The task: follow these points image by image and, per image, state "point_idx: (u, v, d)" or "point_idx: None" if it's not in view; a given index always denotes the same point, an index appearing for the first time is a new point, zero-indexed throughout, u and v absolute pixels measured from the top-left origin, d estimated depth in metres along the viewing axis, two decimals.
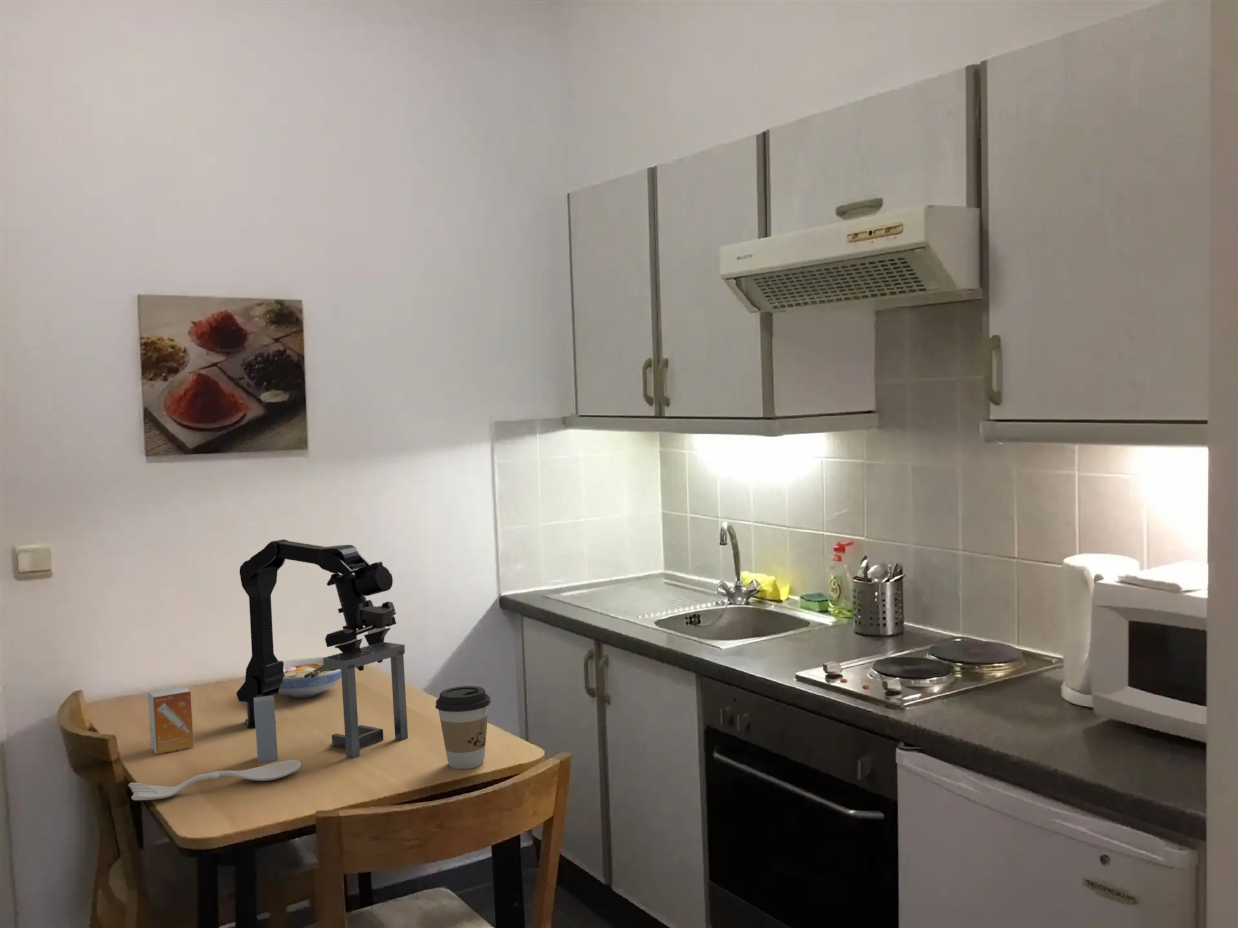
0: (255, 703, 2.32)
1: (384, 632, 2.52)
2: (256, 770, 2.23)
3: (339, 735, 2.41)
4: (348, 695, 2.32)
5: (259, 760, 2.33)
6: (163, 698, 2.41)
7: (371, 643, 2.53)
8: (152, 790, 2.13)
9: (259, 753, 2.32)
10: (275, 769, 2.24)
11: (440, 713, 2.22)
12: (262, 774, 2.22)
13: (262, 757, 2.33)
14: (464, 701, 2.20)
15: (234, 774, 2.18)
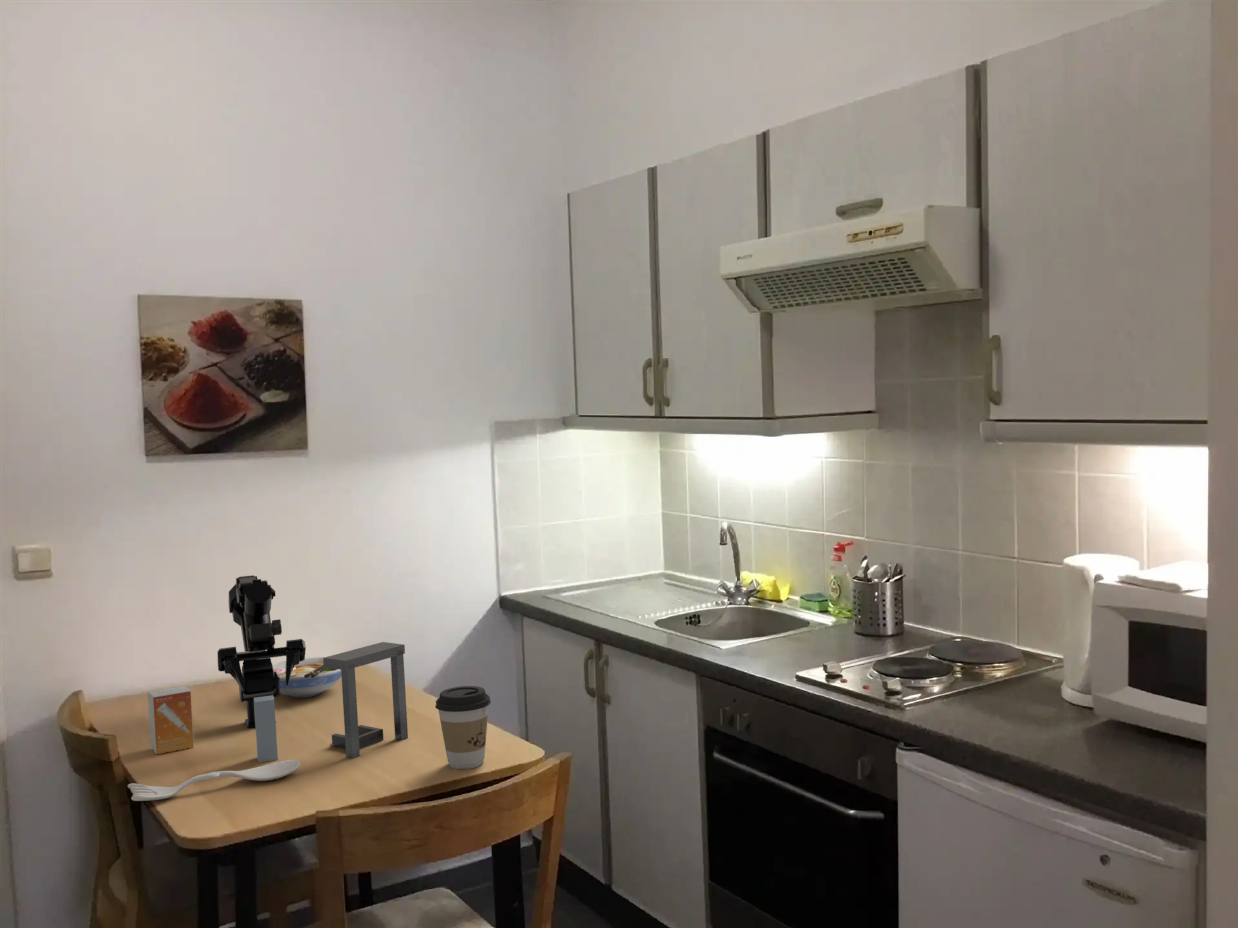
0: (255, 703, 2.32)
1: (289, 653, 2.46)
2: (255, 770, 2.23)
3: (339, 735, 2.41)
4: (348, 695, 2.32)
5: (259, 760, 2.33)
6: (163, 698, 2.41)
7: None
8: (151, 791, 2.13)
9: (259, 753, 2.32)
10: (274, 769, 2.24)
11: (440, 713, 2.22)
12: (261, 774, 2.22)
13: (262, 757, 2.33)
14: (464, 701, 2.20)
15: (234, 774, 2.18)
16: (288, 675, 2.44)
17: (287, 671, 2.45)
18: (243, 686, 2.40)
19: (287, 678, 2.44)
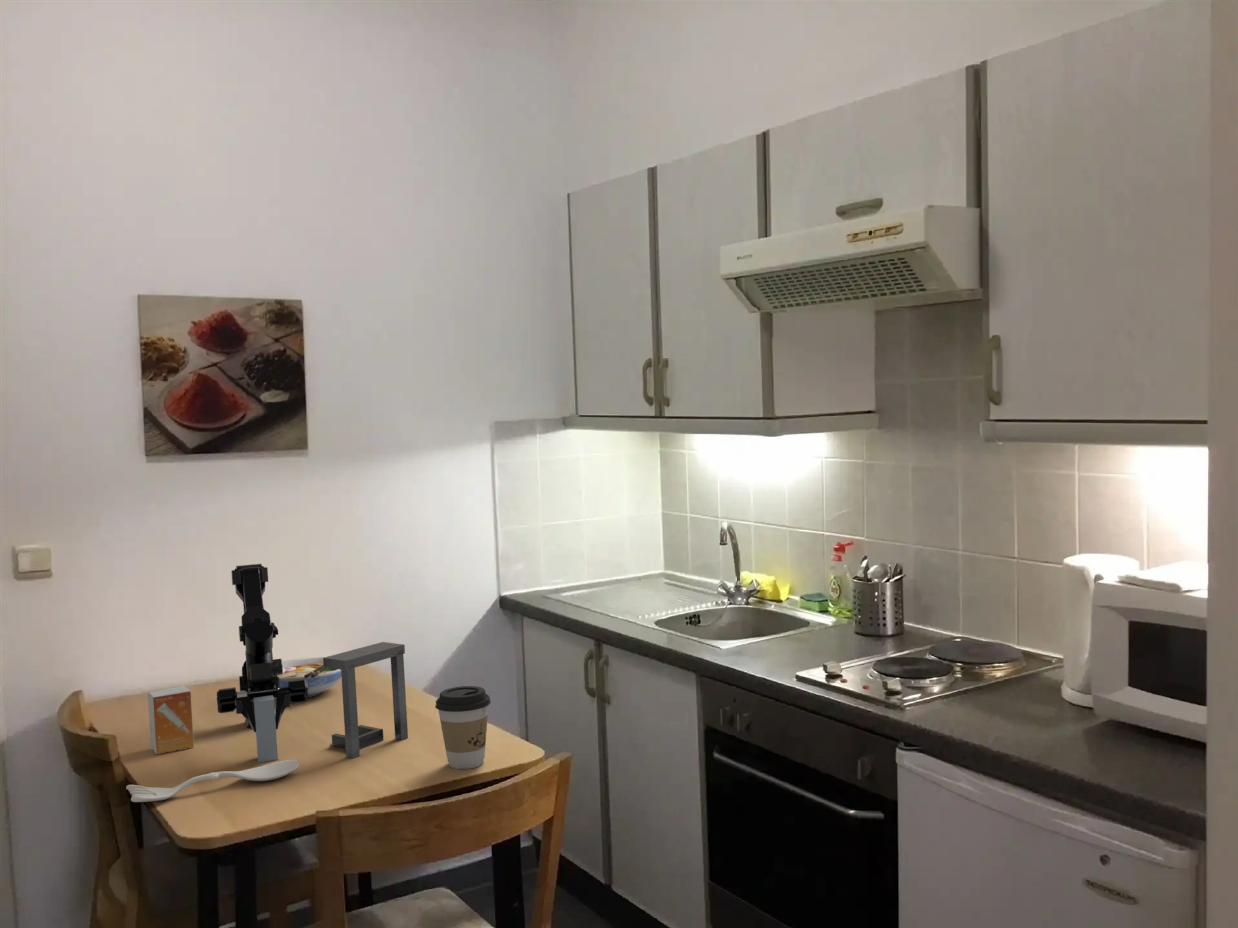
0: (255, 703, 2.32)
1: (279, 695, 2.37)
2: (254, 770, 2.23)
3: (339, 735, 2.41)
4: (348, 695, 2.32)
5: (259, 760, 2.32)
6: (163, 698, 2.41)
7: None
8: (150, 792, 2.12)
9: (259, 753, 2.32)
10: (273, 769, 2.24)
11: (440, 713, 2.22)
12: (260, 774, 2.22)
13: (262, 757, 2.33)
14: (464, 701, 2.20)
15: (233, 775, 2.18)
16: (277, 718, 2.35)
17: (276, 714, 2.35)
18: (254, 727, 2.33)
19: (276, 721, 2.34)
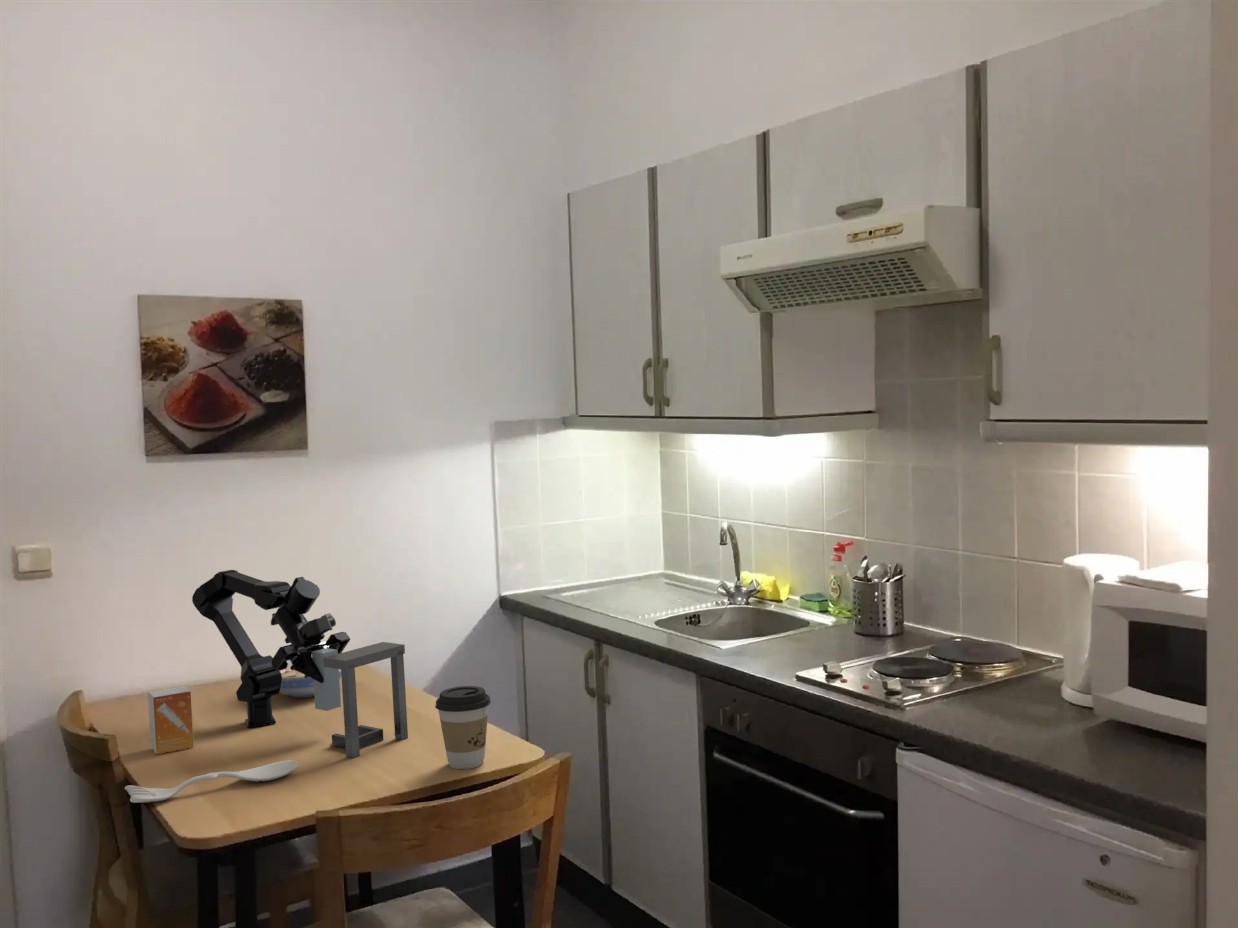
0: (324, 654, 2.45)
1: (332, 647, 2.51)
2: (252, 771, 2.23)
3: (339, 735, 2.41)
4: (348, 695, 2.32)
5: (327, 708, 2.46)
6: (163, 698, 2.41)
7: None
8: (149, 792, 2.12)
9: (327, 702, 2.46)
10: (272, 769, 2.24)
11: (440, 713, 2.22)
12: (259, 775, 2.21)
13: (329, 705, 2.46)
14: (464, 701, 2.20)
15: (231, 775, 2.18)
16: None
17: None
18: (322, 677, 2.45)
19: None
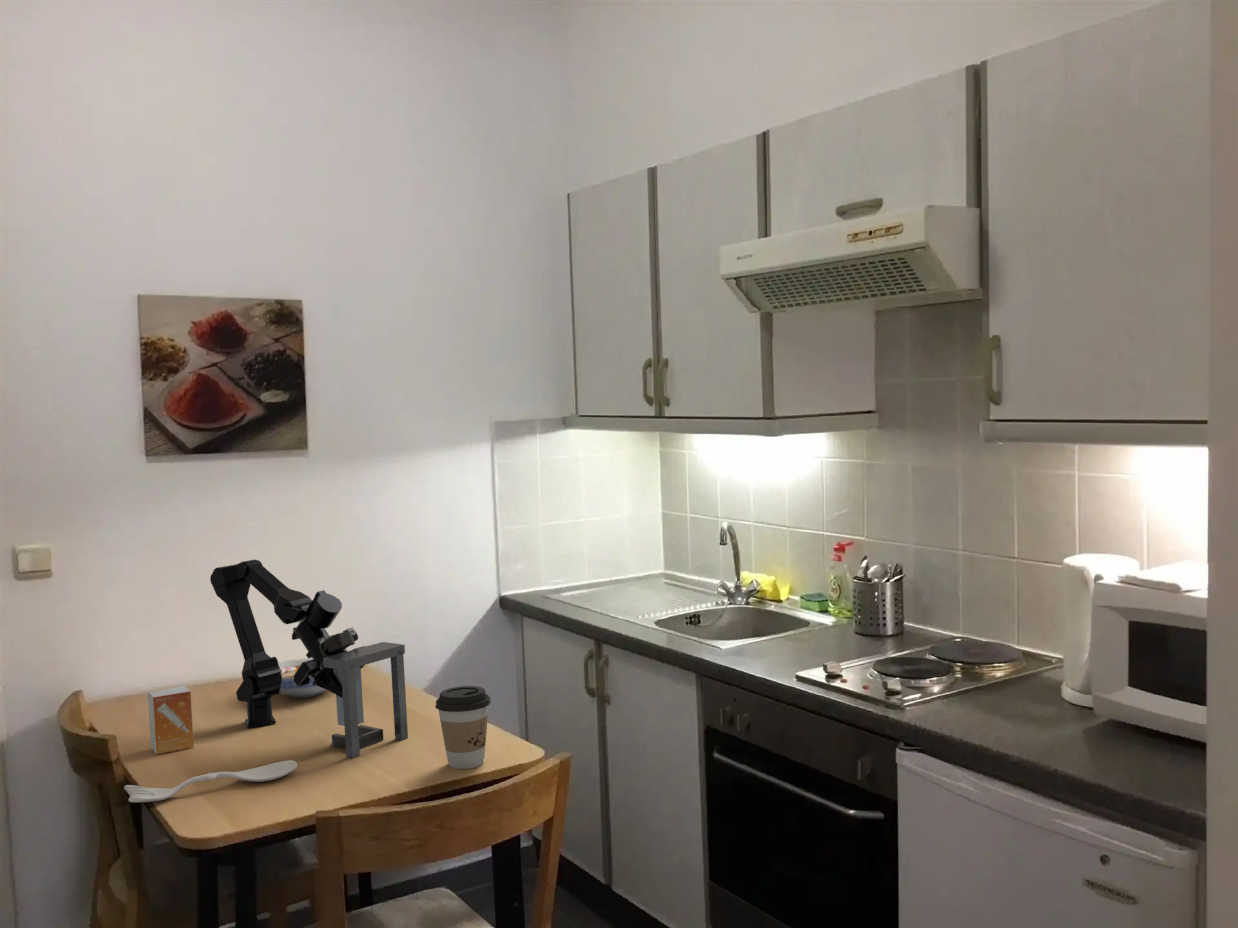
0: None
1: None
2: (252, 771, 2.23)
3: (339, 735, 2.41)
4: (348, 695, 2.32)
5: None
6: (163, 698, 2.41)
7: None
8: (148, 792, 2.12)
9: None
10: (271, 770, 2.24)
11: (440, 713, 2.22)
12: (258, 775, 2.21)
13: None
14: (464, 701, 2.20)
15: (231, 775, 2.18)
16: None
17: None
18: None
19: None
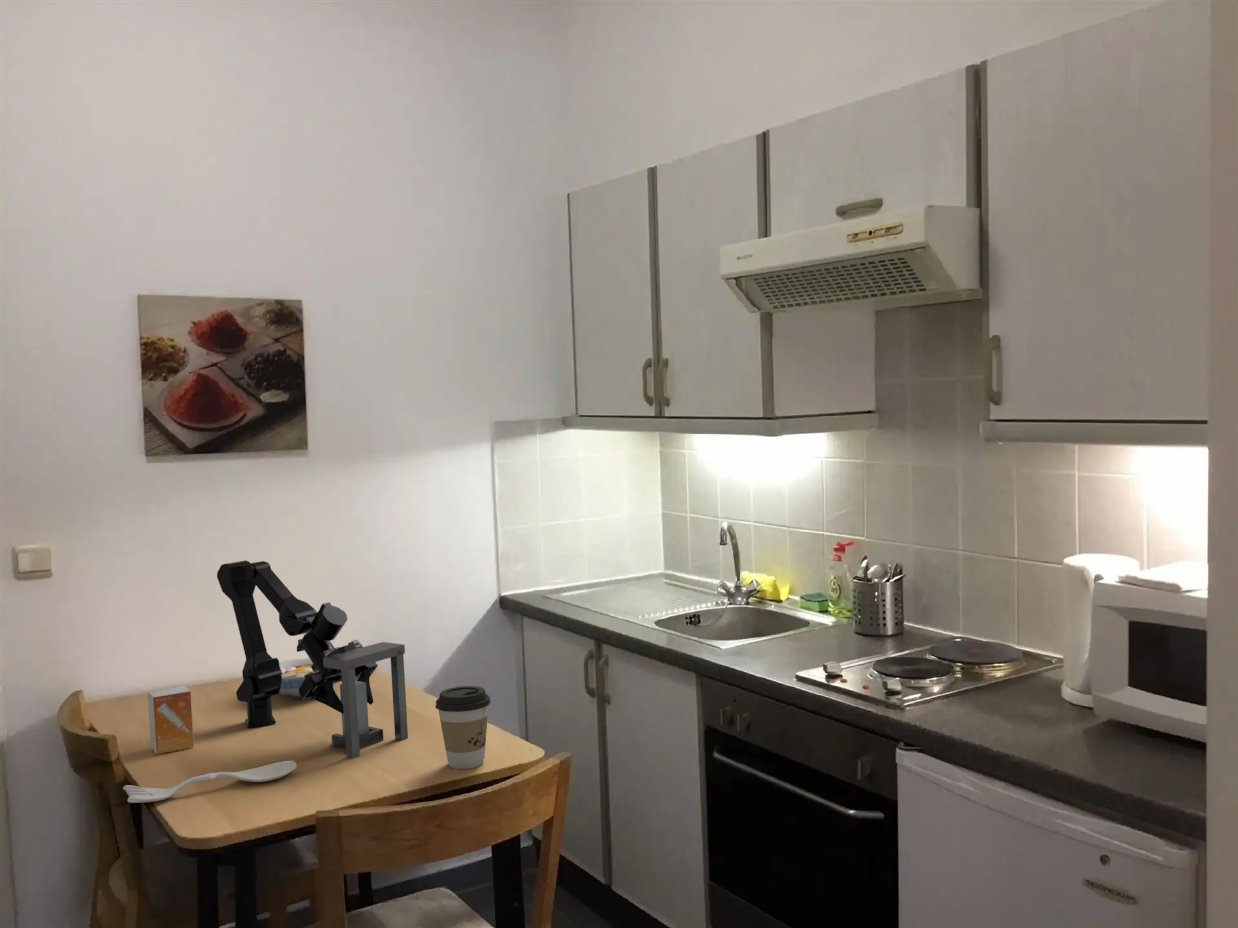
0: None
1: (365, 673, 2.48)
2: (251, 771, 2.22)
3: (339, 735, 2.41)
4: (348, 695, 2.32)
5: None
6: (163, 698, 2.41)
7: None
8: (147, 792, 2.12)
9: None
10: (270, 770, 2.24)
11: (440, 713, 2.22)
12: (258, 775, 2.21)
13: None
14: (464, 701, 2.20)
15: (230, 775, 2.17)
16: (370, 694, 2.46)
17: (368, 690, 2.46)
18: None
19: (371, 697, 2.46)
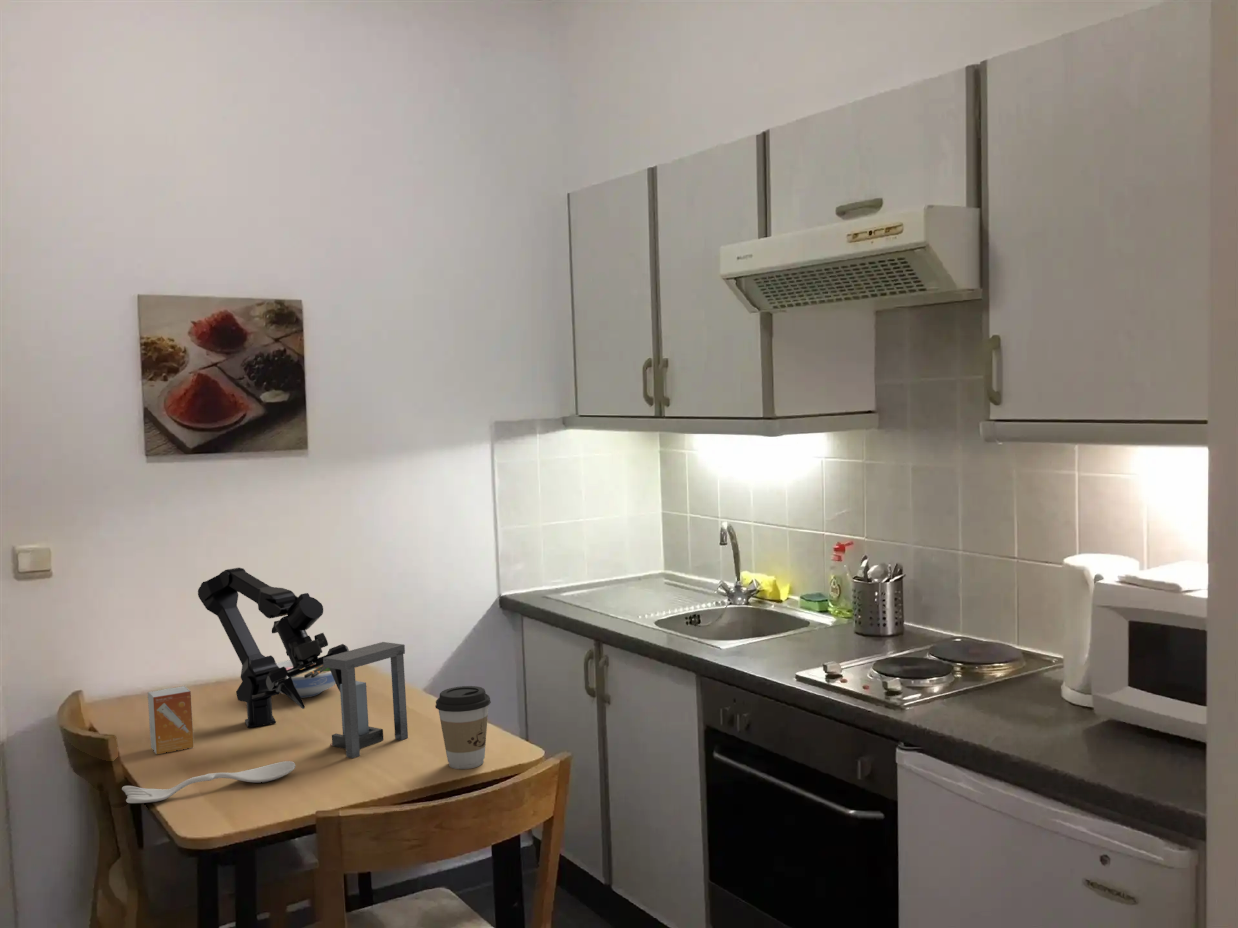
0: None
1: None
2: (250, 772, 2.22)
3: (339, 735, 2.41)
4: (348, 695, 2.32)
5: None
6: (163, 698, 2.41)
7: (333, 675, 2.53)
8: (146, 793, 2.12)
9: None
10: (269, 771, 2.23)
11: (440, 713, 2.22)
12: (257, 776, 2.21)
13: None
14: (464, 701, 2.20)
15: (229, 776, 2.17)
16: (341, 683, 2.50)
17: (339, 679, 2.50)
18: (303, 704, 2.45)
19: None
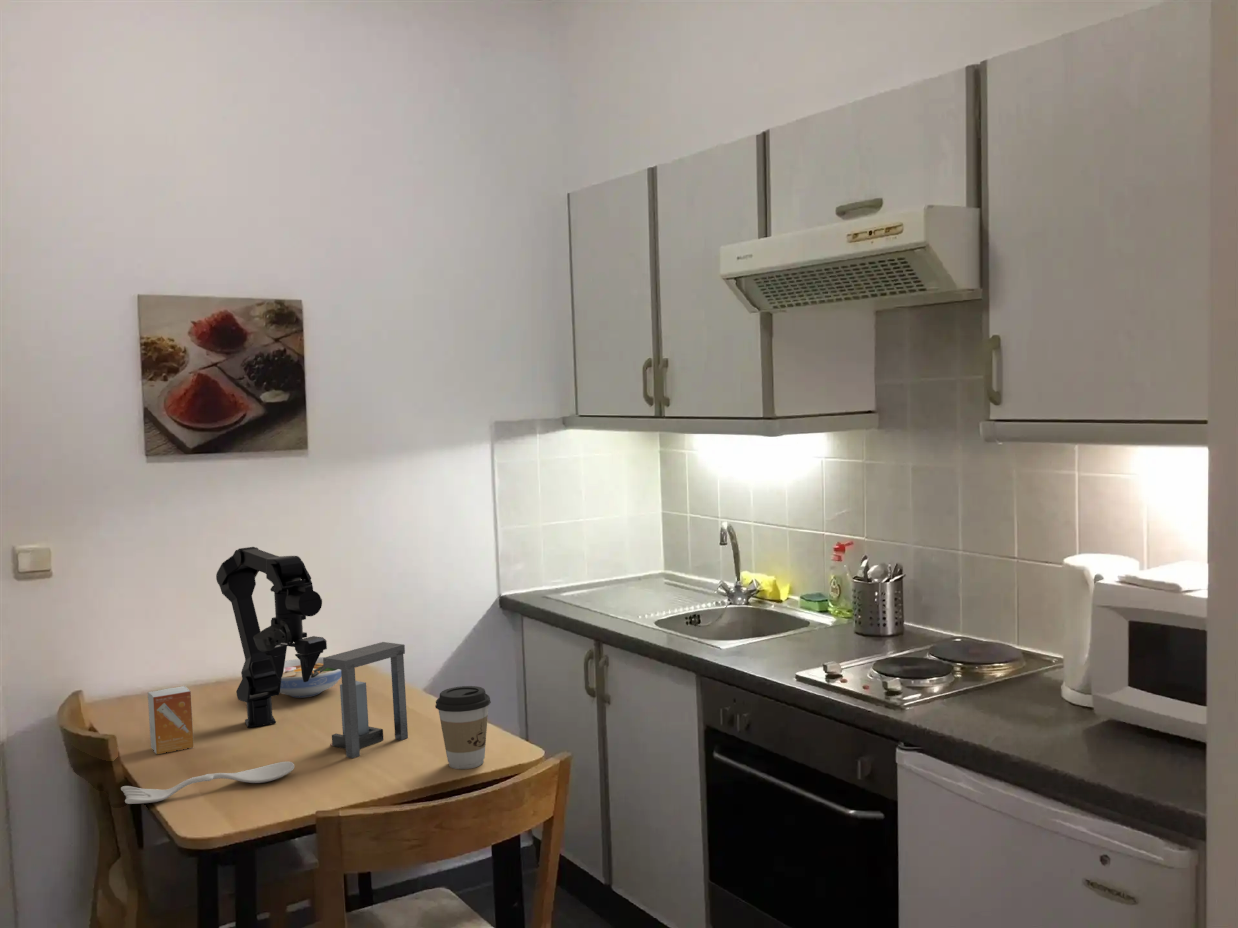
0: None
1: (297, 656, 2.45)
2: (249, 772, 2.22)
3: (339, 735, 2.41)
4: (348, 695, 2.32)
5: None
6: (163, 698, 2.41)
7: None
8: (145, 793, 2.12)
9: None
10: (268, 771, 2.23)
11: (440, 713, 2.22)
12: (256, 776, 2.21)
13: None
14: (464, 701, 2.20)
15: (228, 776, 2.17)
16: (303, 674, 2.47)
17: (302, 670, 2.47)
18: (277, 675, 2.53)
19: (303, 677, 2.47)
